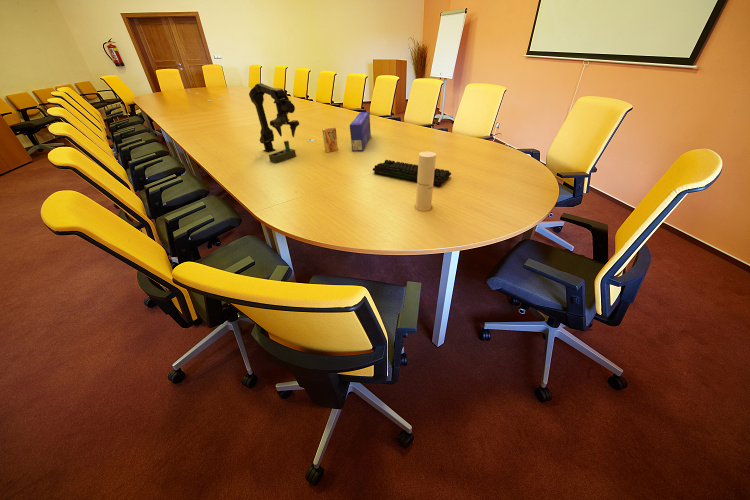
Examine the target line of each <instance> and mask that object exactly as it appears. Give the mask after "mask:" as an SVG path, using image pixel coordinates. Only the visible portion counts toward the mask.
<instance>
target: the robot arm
mask: <svg viewBox="0 0 750 500" xmlns="http://www.w3.org/2000/svg"><path fill="white" fill-rule="evenodd" d="M265 94H266V95H269V96H270V97H271V99H272V100H274V101H273V104H275V107H276V112H277V113H276V117H275V118H273V119H271V120H270V121H269V124H268V119H267V116H266V111H265V108H264V102H265V99H264V95H265ZM248 96H249V99H250V101H251V103H252V104H253V105H254V106H255V110H256V114H257V117H258V120H259V124H260V131H259V132H260V137H259V142H260V144H262V145H263V147H264V149H262V151H263V152H266V153H272V152H274V151H276V149H275V148H274V144H273V142H275V134H274V130H273V129H275V130H276V132H277V133H278V135H279V137H282V136H283V132H282V127H283V126H285V125H287V126H289V129H290V131H291V136H292V138H295V134H296V130H297V127H298V126H300V121H299V120H298V119H297V120H296V119H293V120H290V118H289V116H288V115H289V114H293V113H294V112H295V111H296V107H295V105H294V103H292V100H290V99H289V96H288V95H287V94H286V92H285V90H284V89H283V88H281V87H272V86H269V85H266V84H264V83H263V82H260V83H256V84H255V85H254V86H253V87H252V88H251V89H250V91H249V93H248ZM269 126H271V127H272V128H273V129H271V128H270V127H269Z"/></svg>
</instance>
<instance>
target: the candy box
mask: <svg viewBox="0 0 750 500" xmlns="http://www.w3.org/2000/svg"><path fill="white" fill-rule="evenodd" d="M322 138H323V145H324V146H323V147H324V151H325V152H326V153H331V152H334V151H337V150H339V145H338V136H337V128H336V127H334V126H331V127H325V128H322Z"/></svg>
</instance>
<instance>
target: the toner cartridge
mask: <svg viewBox="0 0 750 500" xmlns="http://www.w3.org/2000/svg"><path fill="white" fill-rule="evenodd" d="M370 114H371V113H370V111H359V112H358V114H357V115H356V116H355V117H354V118H353V120H352V121H351V122H350V124H349V132H350V134H349V135H350V143H351V151H352V152H363V151H364V150H365V149H366V146H367V144H368V142H369V141H370V138H371V136H372V133H371V131H372V130H371V115H370Z"/></svg>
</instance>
